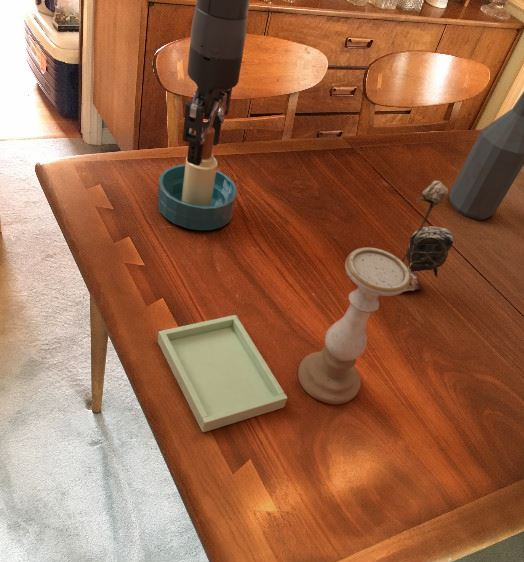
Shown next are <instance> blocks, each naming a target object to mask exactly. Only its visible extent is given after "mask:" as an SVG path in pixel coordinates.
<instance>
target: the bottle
mask: <svg viewBox="0 0 524 562" xmlns="http://www.w3.org/2000/svg"><path fill="white" fill-rule="evenodd" d="M523 167H524V91H522V93H521V95H520V96H519V98H518V99H517V101H516V102H515V103H514V105H513V107H512V108H511V109H510V110H508V111H507V112H505V113H503V114H502V115H500V116H499V117H498V118H496V119H495V120H494V121H492V122H490V123H489V124H487V125H486V126H484V127H483V128H482V129H481V130H480V132H479V134H478V135H477V137H476V139H475V142H474V144H473V146H472V147H471V149H470V151H469V153H468V156H467V157H466V160H465V161H464V163H463V165H462V167H461V169H460V171H459V174H458V175H457V177H456V179H455V181H454V183H453V184H452V186H451V189H450V190H449V192H448V193H449V195H448V196H449V204H450V206H451V207H452V208H453V209H454V210H455V211H457V213H459V214H461V215H462V216H463V217H468V218H470V219H474V220H477V221H485V220H486V219H488V218H490V217H491V216H493V215H495V214H496V212H497V211H498V209H499V207H500V205H501V204H502V202H503V201H504V199H505V197H506V196H507V193H508V192H509V190H510V189H511V187H512V185H513V183H514V182H515V180H516V179H517V177H518V176H519V174H520V172H521V170H522V168H523Z"/></svg>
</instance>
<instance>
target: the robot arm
mask: <svg viewBox="0 0 524 562" xmlns="http://www.w3.org/2000/svg"><path fill="white" fill-rule="evenodd" d="M250 2H251V0H195V6H194V12H193V17H192V20H191V21H192V22H191V30H190V38H189V39H190V41H189V48H188V49H189V51H188V60H187V61H188V62H187V70H186V71H187V76H188V77H189V79H190V80H191V81H193V83H194V84H195V85H196V87H197V88H196V90H195V91H194V93H193V97H192V101H189V100H188V101H186V103H185V107H184V119H183V132H182V141H183V142H186V143H188V147H187V156H186V157H187V161H188V162H189V163H191V164H194V165H197V166H199V165H200V164H201V163H202V156H203V148H204V142H205V138H206V134H207V131H208V130H210V129H211V128H212V127H213V128H214V129H215V134H214V141H213V147H217V146H218V145H219V142H220V137H221V130H222V124H223V123H224V121H225V116H227V115H228V114H229V112H230V104H231V100H232V99H231V98H232V92H233V88H235V87H236V86H237V85H238V84H239V81H240V75H241V69H242V63H243V57H244V56H243V55H244V50H245V44H246V38H247V29H248V28H247V23H248V14H249V8H250ZM204 120H206V121H204ZM202 128H203V129H202Z"/></svg>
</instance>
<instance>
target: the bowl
mask: <svg viewBox="0 0 524 562" xmlns="http://www.w3.org/2000/svg"><path fill="white" fill-rule="evenodd" d="M184 172H185V163H183V164H178V165H173V166H171V167H167V169H165V170H164V171H163V172H162V173H161V174H160V175H159V179H158V187H157V199H156V205H157V208H158V211H159V212H160V214H161V215H162V216H163V217H164V218H165V219H166V220H167V221H170V222H171V223H172V224H174V225H177V226H179V227H182V228H184V229H188V230H195V231H212V230H216V229H220V228H221V229H222V227H224V226H226V225H227V224H229V223H230V222H231V220H232V218H234V212H235V207H236V202H237V198H238V197H237V196H238V188H237V185H236V183H235V182H234V180H233V179H231V178H230V176H228V175H227V174H225V173H224V172H222V171H220V170H218V169H217V171H216V178H215V184H214V190H213V197H212V203H211V206H197V205H191V204H188V203H185V202H182V201H181V199H182V190H183V181H184Z"/></svg>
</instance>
